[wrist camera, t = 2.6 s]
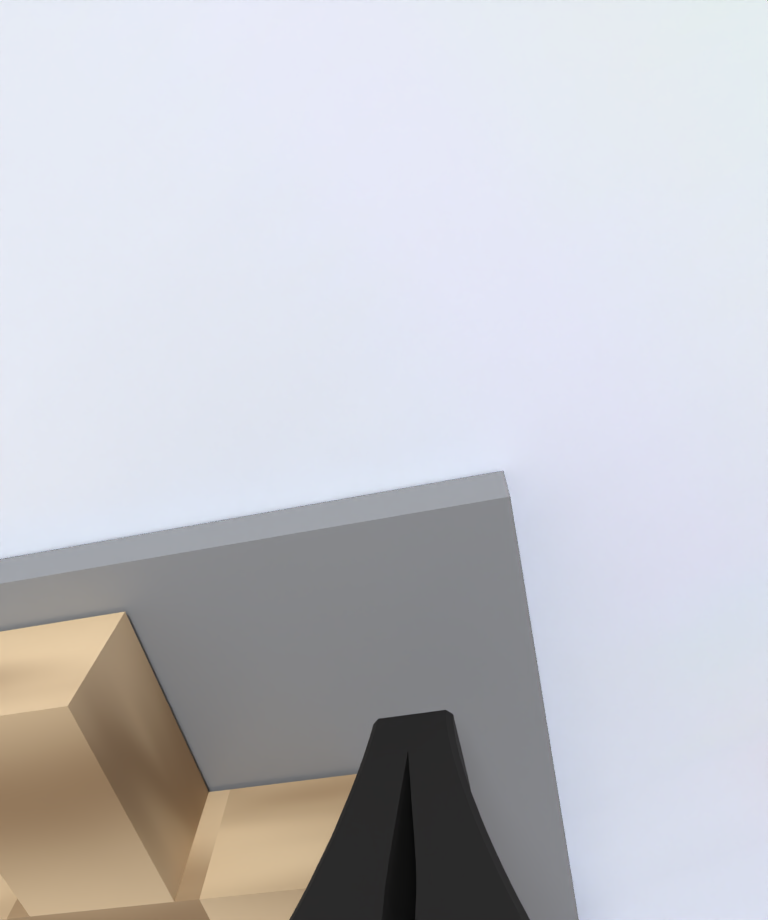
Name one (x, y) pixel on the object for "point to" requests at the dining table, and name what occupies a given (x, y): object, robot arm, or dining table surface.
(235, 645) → the base plate
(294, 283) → the dining table surface
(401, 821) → the robot arm
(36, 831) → the wooden beam assembly
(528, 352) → the dining table surface
